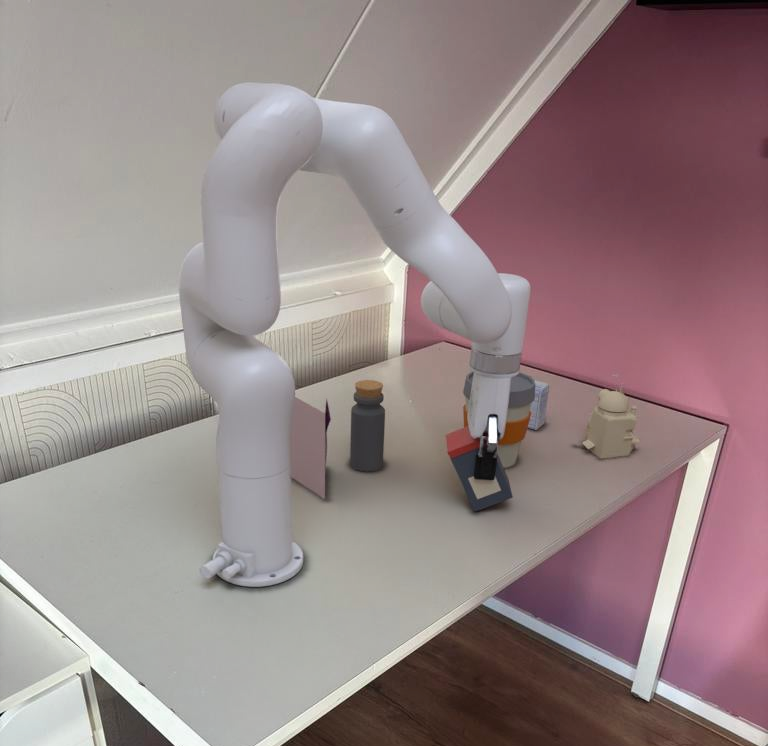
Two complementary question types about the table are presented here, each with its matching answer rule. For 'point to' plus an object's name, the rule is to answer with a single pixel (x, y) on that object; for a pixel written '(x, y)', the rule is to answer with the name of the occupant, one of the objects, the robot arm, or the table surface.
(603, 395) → the robot
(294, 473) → the greeting card
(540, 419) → the medicine box
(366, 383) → the bottle
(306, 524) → the table surface
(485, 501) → the red-lidded grey box
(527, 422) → the reusable coffee cup
